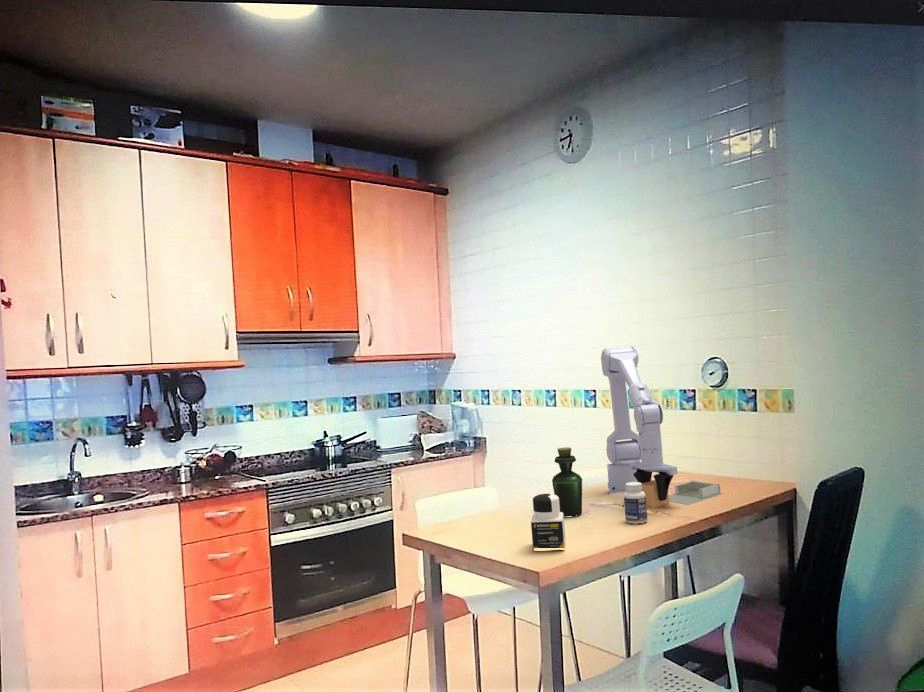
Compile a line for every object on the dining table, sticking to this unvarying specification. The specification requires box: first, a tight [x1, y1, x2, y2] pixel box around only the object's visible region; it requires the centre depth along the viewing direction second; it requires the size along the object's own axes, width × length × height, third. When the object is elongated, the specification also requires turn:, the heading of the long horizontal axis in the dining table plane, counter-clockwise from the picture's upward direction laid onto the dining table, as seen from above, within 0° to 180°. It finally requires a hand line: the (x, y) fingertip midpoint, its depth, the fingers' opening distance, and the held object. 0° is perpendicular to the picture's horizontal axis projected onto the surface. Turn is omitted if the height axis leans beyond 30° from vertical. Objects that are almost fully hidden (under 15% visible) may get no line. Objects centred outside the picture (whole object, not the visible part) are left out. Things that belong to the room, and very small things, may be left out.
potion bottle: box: [551, 446, 583, 517], centre depth 183 cm, size 8×8×18 cm
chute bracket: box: [674, 480, 721, 499], centre depth 189 cm, size 8×9×2 cm
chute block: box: [641, 479, 670, 509], centre depth 181 cm, size 6×5×6 cm
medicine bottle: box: [530, 493, 567, 549], centre depth 155 cm, size 7×7×12 cm
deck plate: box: [668, 492, 725, 506], centre depth 187 cm, size 16×11×1 cm
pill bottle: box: [623, 482, 648, 525], centre depth 170 cm, size 5×5×10 cm
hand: (655, 498), depth 181 cm, fingers closed on chute block, 5 cm apart
